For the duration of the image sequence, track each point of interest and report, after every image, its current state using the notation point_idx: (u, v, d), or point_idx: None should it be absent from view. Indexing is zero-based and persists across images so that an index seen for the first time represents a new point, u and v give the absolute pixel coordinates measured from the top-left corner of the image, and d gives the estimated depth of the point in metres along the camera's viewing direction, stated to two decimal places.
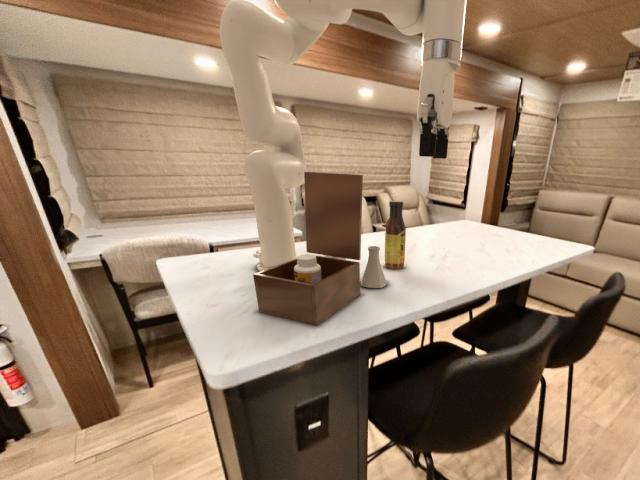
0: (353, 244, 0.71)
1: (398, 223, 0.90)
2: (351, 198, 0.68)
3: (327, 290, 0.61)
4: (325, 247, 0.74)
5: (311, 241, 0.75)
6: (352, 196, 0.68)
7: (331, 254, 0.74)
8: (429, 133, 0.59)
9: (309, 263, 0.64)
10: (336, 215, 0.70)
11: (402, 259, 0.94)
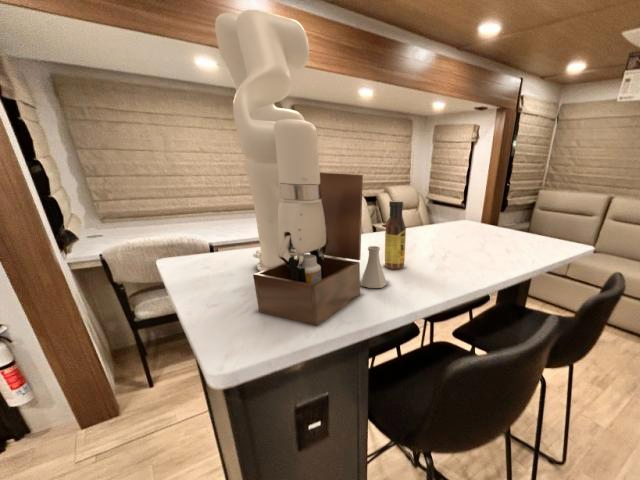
0: (353, 244, 0.71)
1: (398, 223, 0.90)
2: (351, 198, 0.68)
3: (327, 290, 0.61)
4: None
5: None
6: (352, 196, 0.68)
7: (331, 254, 0.74)
8: (296, 269, 0.62)
9: (309, 263, 0.64)
10: (336, 215, 0.70)
11: (402, 259, 0.94)
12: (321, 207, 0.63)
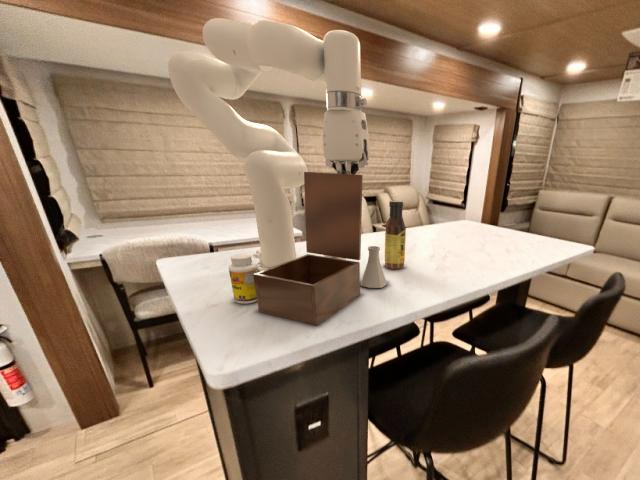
0: (353, 244, 0.71)
1: (398, 223, 0.90)
2: (351, 198, 0.68)
3: (327, 290, 0.61)
4: (325, 247, 0.74)
5: (311, 241, 0.75)
6: (352, 196, 0.68)
7: (331, 254, 0.74)
8: None
9: (242, 262, 0.65)
10: (336, 215, 0.70)
11: (402, 259, 0.94)
12: (352, 117, 0.66)
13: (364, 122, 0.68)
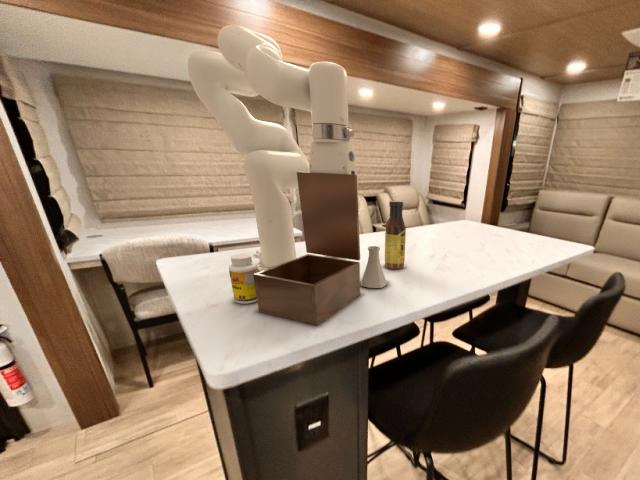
0: (352, 245, 0.70)
1: (398, 223, 0.90)
2: (346, 199, 0.66)
3: (327, 290, 0.61)
4: (324, 247, 0.74)
5: (310, 242, 0.74)
6: (347, 197, 0.66)
7: (331, 254, 0.74)
8: None
9: (242, 262, 0.65)
10: (333, 216, 0.69)
11: (402, 259, 0.94)
12: (339, 150, 0.63)
13: (352, 153, 0.66)
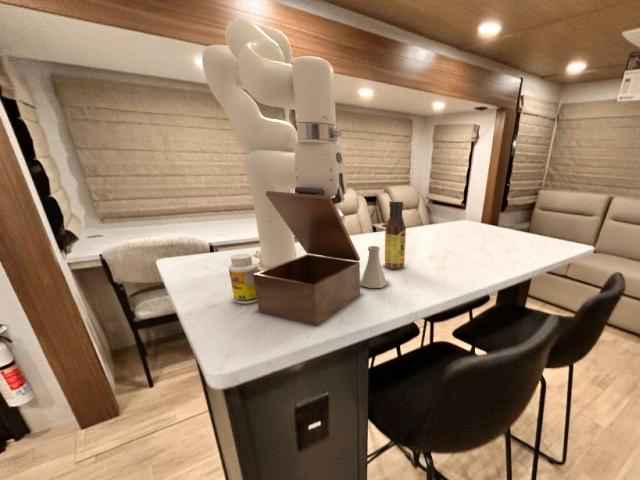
0: (348, 251, 0.69)
1: (398, 223, 0.90)
2: (328, 218, 0.61)
3: (327, 290, 0.61)
4: (322, 251, 0.73)
5: (306, 246, 0.73)
6: (328, 216, 0.61)
7: (331, 256, 0.74)
8: None
9: (242, 262, 0.65)
10: (320, 229, 0.66)
11: (402, 259, 0.94)
12: (326, 151, 0.59)
13: (339, 154, 0.62)
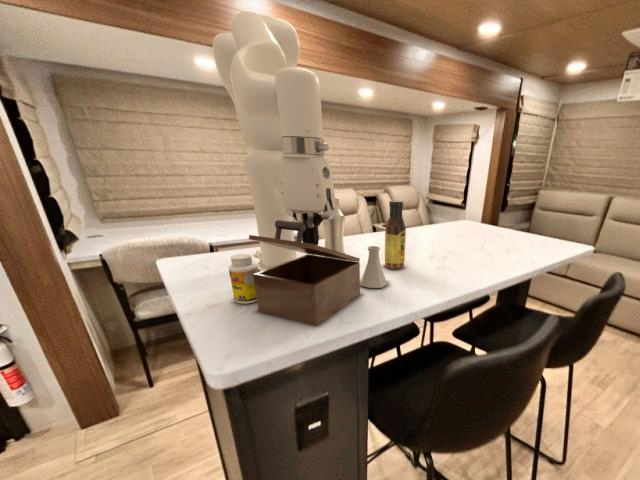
0: None
1: (398, 223, 0.90)
2: (317, 251, 0.60)
3: (327, 290, 0.61)
4: (321, 255, 0.73)
5: None
6: (317, 251, 0.59)
7: (331, 257, 0.74)
8: None
9: (242, 262, 0.65)
10: (313, 252, 0.65)
11: (402, 259, 0.94)
12: (312, 165, 0.56)
13: (327, 169, 0.59)
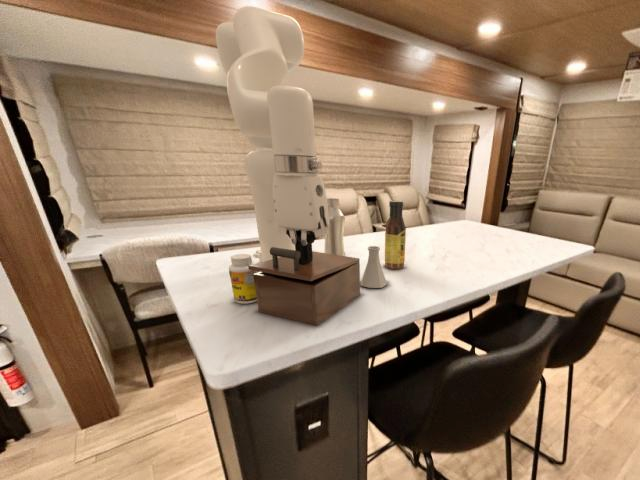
0: None
1: (398, 223, 0.90)
2: None
3: (327, 290, 0.61)
4: None
5: None
6: None
7: None
8: None
9: (242, 262, 0.65)
10: None
11: (402, 259, 0.94)
12: (305, 184, 0.55)
13: (320, 187, 0.58)
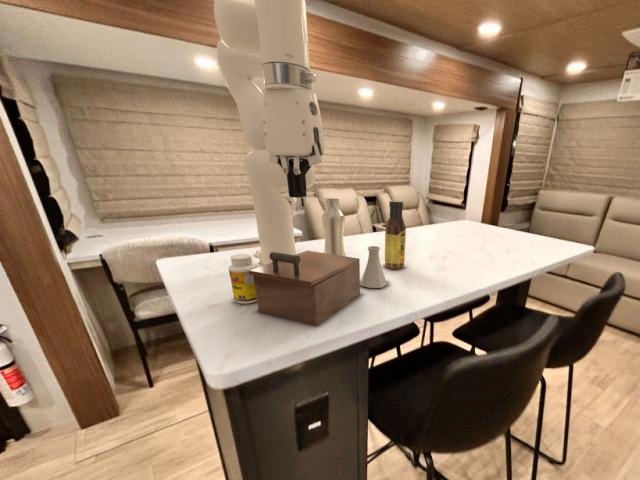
0: None
1: (398, 223, 0.90)
2: None
3: (327, 290, 0.61)
4: None
5: None
6: None
7: None
8: None
9: (242, 262, 0.65)
10: None
11: (402, 259, 0.94)
12: (297, 98, 0.50)
13: (314, 105, 0.52)
